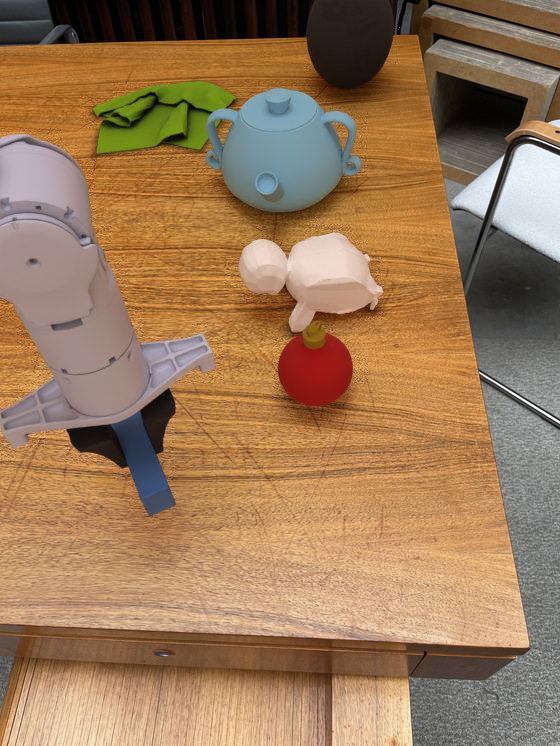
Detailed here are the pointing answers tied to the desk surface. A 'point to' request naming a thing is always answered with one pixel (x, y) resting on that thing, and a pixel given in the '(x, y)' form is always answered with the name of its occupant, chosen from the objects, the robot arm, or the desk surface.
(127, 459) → the blue long-handled part
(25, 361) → the desk surface
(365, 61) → the decorative egg
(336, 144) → the teapot
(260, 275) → the white animal figurine
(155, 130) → the cloth
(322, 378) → the christmas ornament
